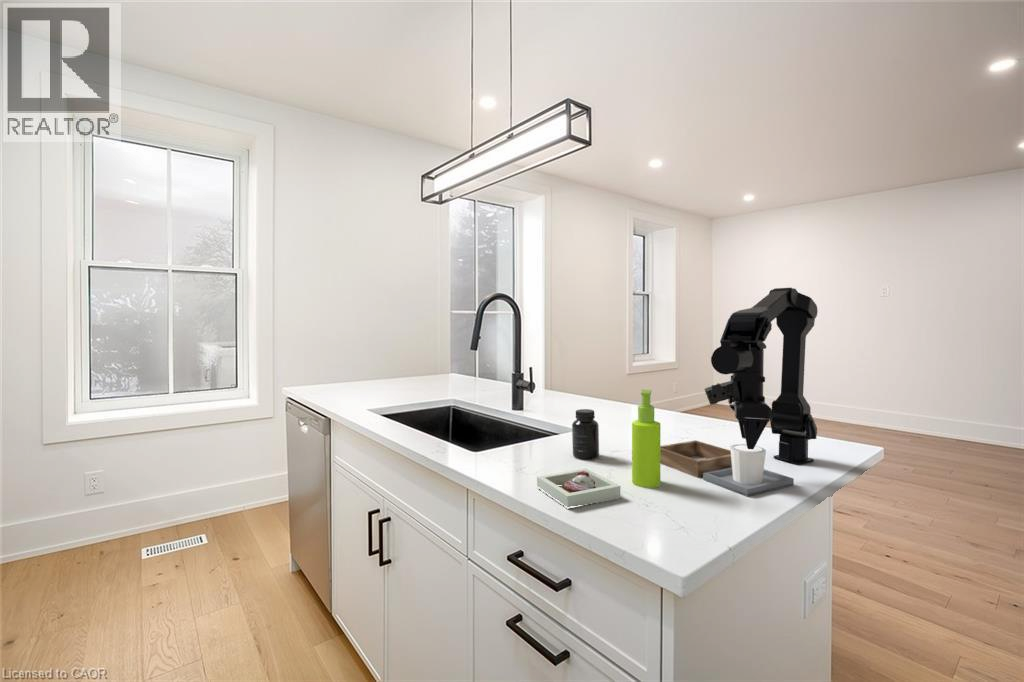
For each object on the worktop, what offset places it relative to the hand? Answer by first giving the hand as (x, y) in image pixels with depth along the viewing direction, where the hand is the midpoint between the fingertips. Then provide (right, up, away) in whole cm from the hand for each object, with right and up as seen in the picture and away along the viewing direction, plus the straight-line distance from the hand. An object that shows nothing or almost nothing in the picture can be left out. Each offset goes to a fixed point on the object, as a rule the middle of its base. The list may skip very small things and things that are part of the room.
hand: (747, 443), depth 99 cm
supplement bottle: (-31, -8, +21) cm, 39 cm away
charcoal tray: (0, -9, 0) cm, 9 cm away
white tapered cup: (0, -8, +1) cm, 8 cm away
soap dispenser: (-21, -9, +2) cm, 23 cm away
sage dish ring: (-37, -9, -5) cm, 38 cm away
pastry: (-37, -10, -6) cm, 38 cm away
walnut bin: (-6, -8, +13) cm, 16 cm away
